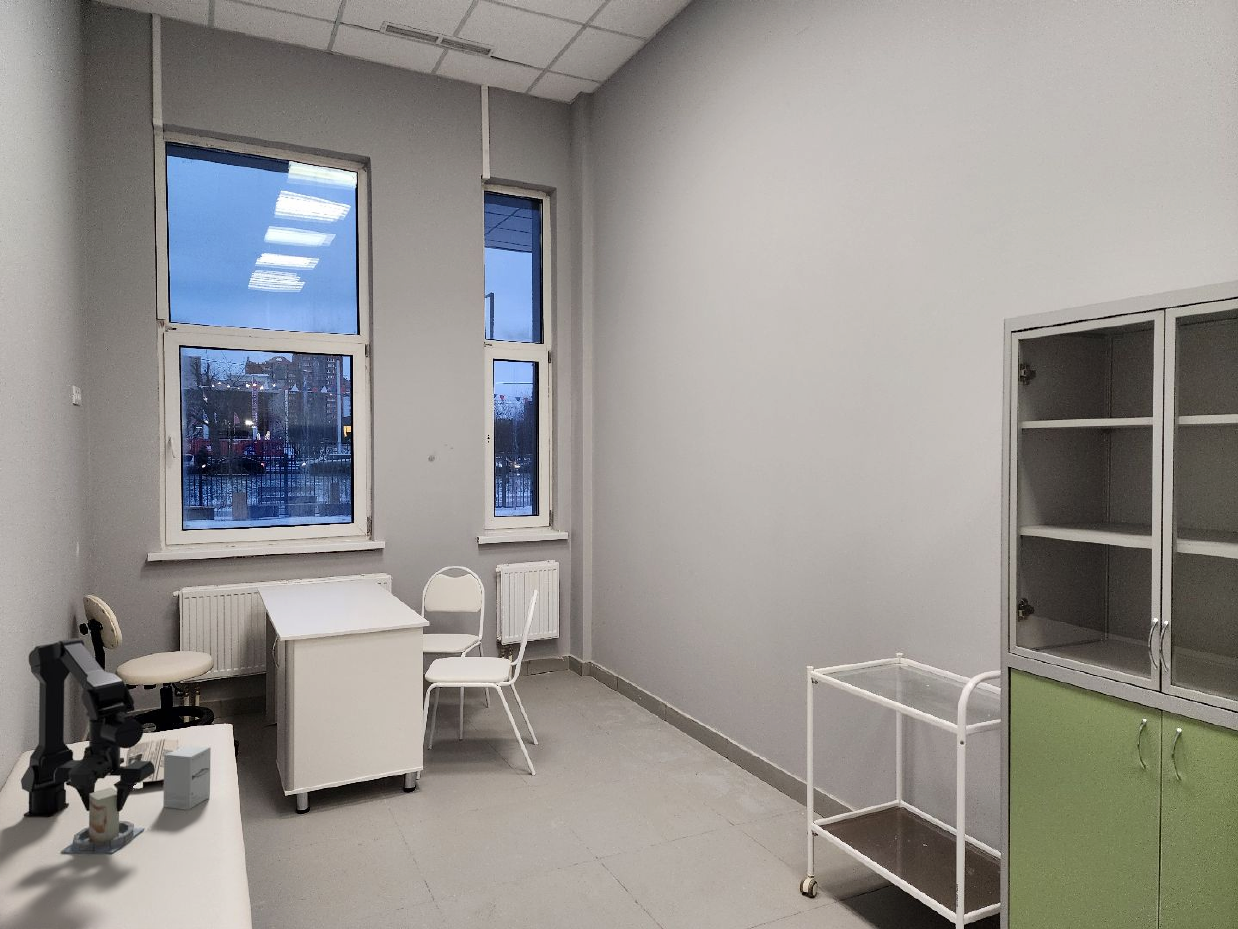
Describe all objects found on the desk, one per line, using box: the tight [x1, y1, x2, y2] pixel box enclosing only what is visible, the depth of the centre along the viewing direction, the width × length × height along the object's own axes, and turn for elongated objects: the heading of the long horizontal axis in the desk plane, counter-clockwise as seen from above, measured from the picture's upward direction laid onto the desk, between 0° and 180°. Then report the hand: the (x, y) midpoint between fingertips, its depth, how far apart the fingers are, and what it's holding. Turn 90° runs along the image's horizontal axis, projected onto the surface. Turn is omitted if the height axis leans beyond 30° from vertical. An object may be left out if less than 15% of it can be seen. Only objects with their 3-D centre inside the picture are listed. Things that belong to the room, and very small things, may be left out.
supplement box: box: [162, 744, 212, 810], centre depth 192 cm, size 7×7×13 cm
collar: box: [60, 820, 146, 855], centre depth 172 cm, size 11×11×2 cm
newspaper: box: [125, 738, 180, 791], centre depth 215 cm, size 35×12×4 cm, turn 30°
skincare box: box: [88, 787, 120, 842], centre depth 172 cm, size 5×4×10 cm
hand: (104, 810), depth 173 cm, fingers closed on skincare box, 6 cm apart
